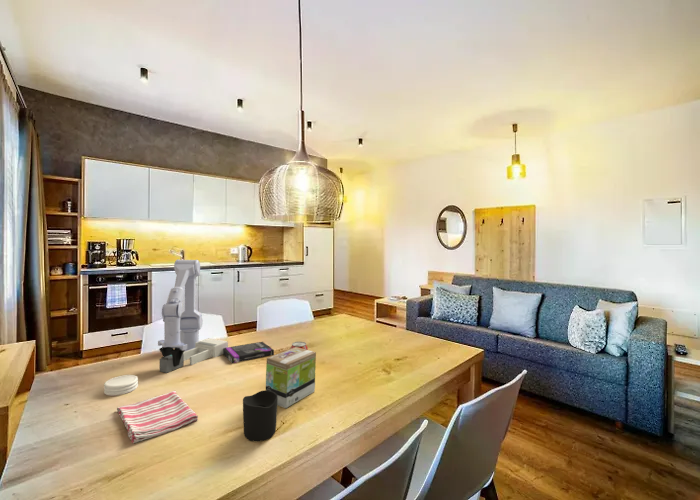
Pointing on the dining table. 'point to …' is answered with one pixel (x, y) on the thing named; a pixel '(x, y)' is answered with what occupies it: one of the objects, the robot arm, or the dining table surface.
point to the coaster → (120, 385)
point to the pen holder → (260, 415)
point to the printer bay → (205, 350)
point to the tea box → (291, 375)
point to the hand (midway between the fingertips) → (172, 364)
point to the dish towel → (156, 416)
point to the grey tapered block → (169, 363)
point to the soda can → (299, 345)
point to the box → (247, 352)
